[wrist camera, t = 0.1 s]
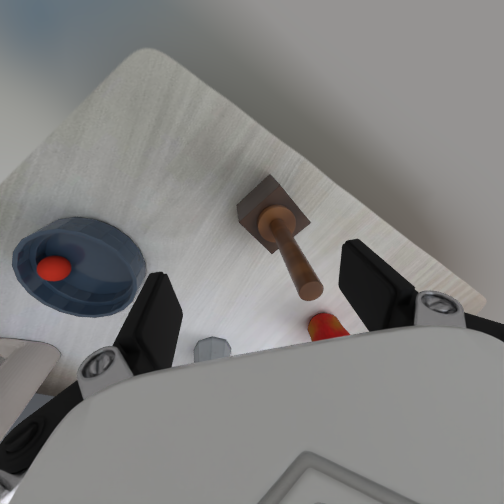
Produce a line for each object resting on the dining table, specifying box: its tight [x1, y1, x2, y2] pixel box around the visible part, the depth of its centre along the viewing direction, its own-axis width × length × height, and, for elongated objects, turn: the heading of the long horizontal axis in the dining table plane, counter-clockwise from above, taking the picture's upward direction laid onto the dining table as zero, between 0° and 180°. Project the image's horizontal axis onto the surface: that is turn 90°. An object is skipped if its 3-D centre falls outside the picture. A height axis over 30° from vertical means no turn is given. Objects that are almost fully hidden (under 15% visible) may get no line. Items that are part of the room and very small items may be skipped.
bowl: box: [12, 217, 146, 318], centre depth 35 cm, size 16×16×5 cm
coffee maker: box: [194, 337, 231, 363], centre depth 44 cm, size 15×9×18 cm, turn 18°
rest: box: [237, 175, 311, 254], centre depth 32 cm, size 7×7×7 cm
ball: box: [37, 256, 71, 281], centre depth 34 cm, size 4×4×4 cm
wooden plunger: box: [257, 205, 323, 301], centre depth 23 cm, size 5×5×14 cm
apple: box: [308, 313, 350, 342], centre depth 45 cm, size 9×8×12 cm
